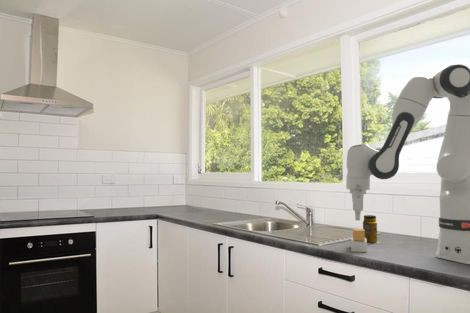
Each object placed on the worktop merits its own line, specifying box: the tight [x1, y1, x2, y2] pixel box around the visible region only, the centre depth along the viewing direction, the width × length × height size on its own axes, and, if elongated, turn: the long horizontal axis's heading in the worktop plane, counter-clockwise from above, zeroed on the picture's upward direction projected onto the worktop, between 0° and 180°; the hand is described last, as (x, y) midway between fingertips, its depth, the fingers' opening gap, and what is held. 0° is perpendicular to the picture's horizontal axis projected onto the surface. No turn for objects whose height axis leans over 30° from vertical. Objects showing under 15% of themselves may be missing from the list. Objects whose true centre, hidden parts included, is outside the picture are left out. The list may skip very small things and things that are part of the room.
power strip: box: [350, 236, 368, 253], centre depth 154 cm, size 10×6×4 cm, turn 162°
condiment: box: [362, 214, 382, 245], centre depth 170 cm, size 7×8×12 cm
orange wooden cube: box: [352, 228, 365, 241], centre depth 152 cm, size 4×4×4 cm
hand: (357, 220), depth 148 cm, fingers closed
